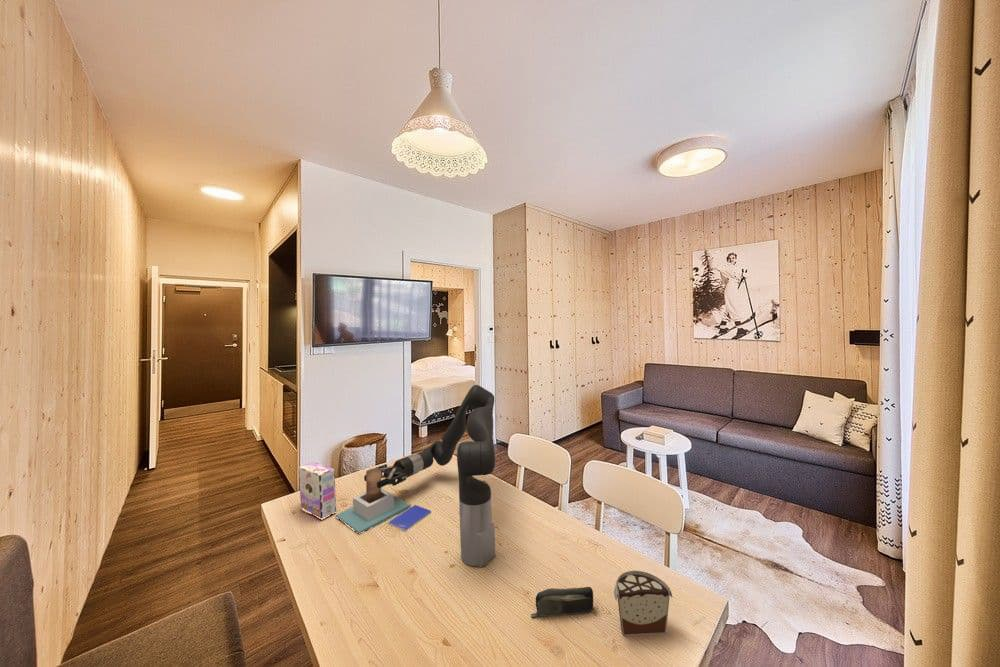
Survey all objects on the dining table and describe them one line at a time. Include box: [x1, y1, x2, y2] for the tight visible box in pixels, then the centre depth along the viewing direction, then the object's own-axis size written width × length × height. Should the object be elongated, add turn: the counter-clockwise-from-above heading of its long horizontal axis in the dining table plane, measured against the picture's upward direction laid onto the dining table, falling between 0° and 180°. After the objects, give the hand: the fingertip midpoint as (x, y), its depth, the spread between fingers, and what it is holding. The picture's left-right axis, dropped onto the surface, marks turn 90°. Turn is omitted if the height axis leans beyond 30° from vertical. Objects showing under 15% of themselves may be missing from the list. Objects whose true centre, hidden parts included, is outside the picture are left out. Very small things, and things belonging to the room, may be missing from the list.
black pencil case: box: [530, 586, 594, 618], centre depth 79 cm, size 5×3×15 cm
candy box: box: [298, 461, 337, 518], centre depth 123 cm, size 14×6×16 cm, turn 58°
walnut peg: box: [365, 467, 382, 504], centre depth 122 cm, size 5×5×14 cm
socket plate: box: [335, 487, 411, 533], centre depth 122 cm, size 16×20×6 cm
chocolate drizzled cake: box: [613, 570, 673, 637], centre depth 76 cm, size 12×6×10 cm, turn 92°
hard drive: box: [387, 504, 432, 533], centre depth 118 cm, size 2×8×12 cm
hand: (371, 481), depth 121 cm, fingers open, 8 cm apart
